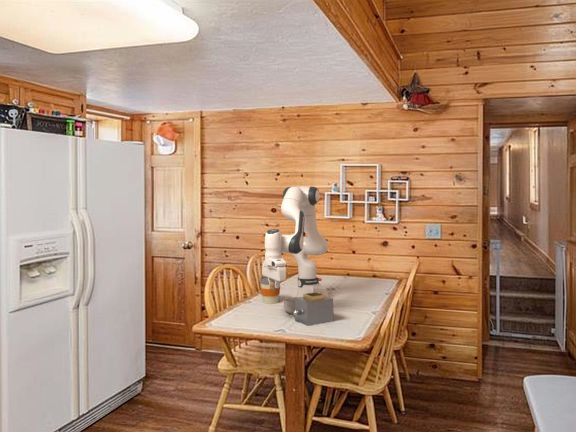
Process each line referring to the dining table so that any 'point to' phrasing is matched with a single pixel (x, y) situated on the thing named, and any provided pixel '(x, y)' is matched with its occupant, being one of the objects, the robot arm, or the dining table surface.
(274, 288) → the bead walnut
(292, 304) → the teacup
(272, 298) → the reusable coffee cup
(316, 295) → the box
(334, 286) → the dining table surface
